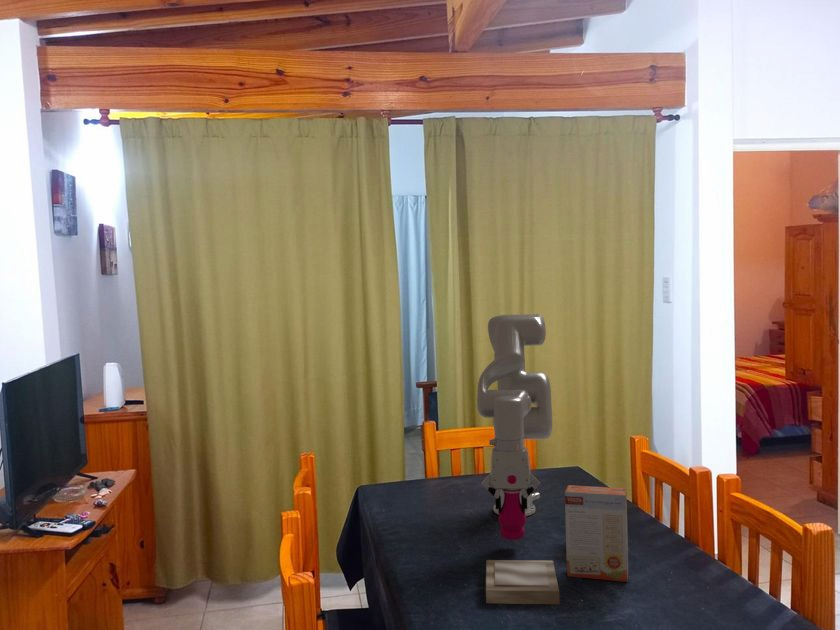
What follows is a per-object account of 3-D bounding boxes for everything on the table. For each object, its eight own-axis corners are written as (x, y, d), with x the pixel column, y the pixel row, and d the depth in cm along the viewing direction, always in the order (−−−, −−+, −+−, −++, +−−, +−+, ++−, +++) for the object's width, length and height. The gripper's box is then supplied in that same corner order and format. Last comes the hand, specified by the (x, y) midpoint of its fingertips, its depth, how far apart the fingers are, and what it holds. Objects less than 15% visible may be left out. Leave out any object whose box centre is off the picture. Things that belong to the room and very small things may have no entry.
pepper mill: (525, 541, 183) (524, 465, 181) (497, 539, 185) (496, 465, 182) (527, 530, 190) (526, 457, 188) (499, 528, 192) (498, 456, 189)
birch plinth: (486, 572, 174) (486, 558, 174) (553, 572, 173) (552, 558, 172) (486, 603, 158) (485, 588, 158) (559, 604, 157) (559, 589, 156)
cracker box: (628, 572, 171) (627, 487, 170) (627, 583, 166) (626, 495, 164) (569, 566, 176) (567, 483, 174) (566, 577, 170) (564, 491, 169)
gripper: (476, 448, 182) (478, 517, 184) (544, 447, 180) (545, 517, 182) (476, 440, 189) (478, 506, 191) (542, 439, 188) (543, 506, 190)
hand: (511, 510), depth 187 cm, fingers closed on pepper mill, 5 cm apart
